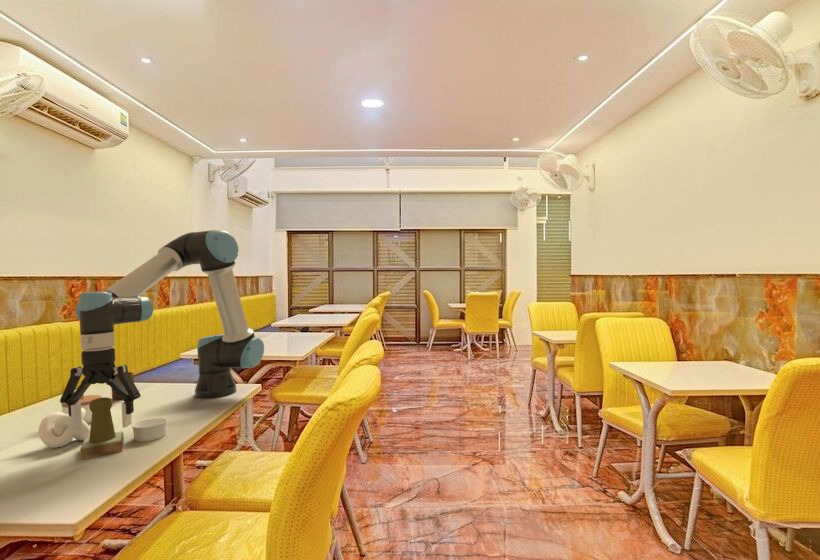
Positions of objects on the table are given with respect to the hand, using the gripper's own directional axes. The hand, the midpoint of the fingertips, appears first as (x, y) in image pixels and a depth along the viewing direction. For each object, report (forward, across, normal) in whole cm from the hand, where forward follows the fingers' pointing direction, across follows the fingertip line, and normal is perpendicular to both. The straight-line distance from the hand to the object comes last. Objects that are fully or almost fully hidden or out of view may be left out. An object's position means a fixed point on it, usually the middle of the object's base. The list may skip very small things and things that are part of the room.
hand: (102, 427), depth 123 cm
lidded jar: (+7, -24, +26) cm, 36 cm away
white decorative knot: (+7, -14, +7) cm, 17 cm away
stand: (+6, 0, 0) cm, 6 cm away
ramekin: (+7, +8, +9) cm, 14 cm away
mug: (+7, -30, +55) cm, 63 cm away
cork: (+3, 0, 0) cm, 3 cm away
